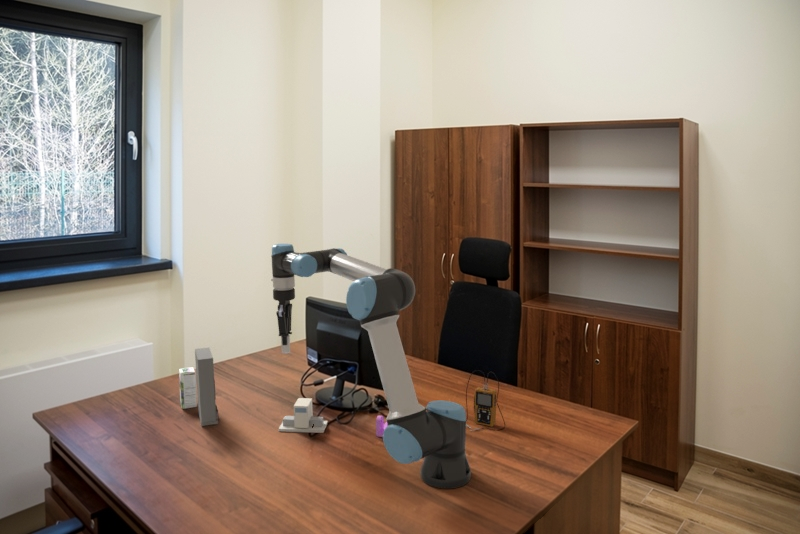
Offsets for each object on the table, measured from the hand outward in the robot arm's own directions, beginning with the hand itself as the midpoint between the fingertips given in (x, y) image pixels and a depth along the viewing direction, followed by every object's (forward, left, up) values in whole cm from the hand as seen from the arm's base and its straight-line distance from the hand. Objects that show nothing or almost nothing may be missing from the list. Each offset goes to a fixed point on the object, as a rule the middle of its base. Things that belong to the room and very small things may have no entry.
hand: (285, 352), depth 232 cm
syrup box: (+32, +31, -27) cm, 52 cm away
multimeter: (-32, -62, -27) cm, 75 cm away
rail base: (-6, -4, -27) cm, 27 cm away
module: (-6, -4, -25) cm, 26 cm away
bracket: (-20, -32, -27) cm, 46 cm away
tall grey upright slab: (+16, +26, -27) cm, 41 cm away
